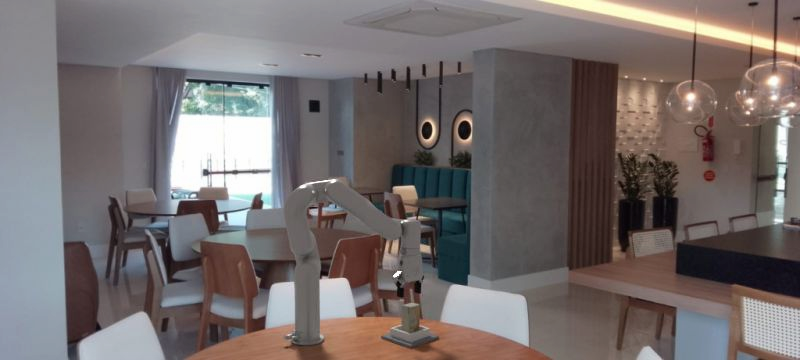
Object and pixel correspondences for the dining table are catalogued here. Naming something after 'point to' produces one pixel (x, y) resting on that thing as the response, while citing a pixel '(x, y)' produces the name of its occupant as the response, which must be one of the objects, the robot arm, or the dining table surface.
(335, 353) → the dining table surface
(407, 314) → the skincare box
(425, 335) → the holder board
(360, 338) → the dining table surface
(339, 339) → the dining table surface
